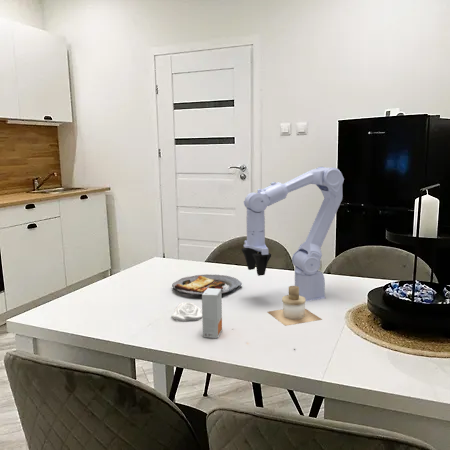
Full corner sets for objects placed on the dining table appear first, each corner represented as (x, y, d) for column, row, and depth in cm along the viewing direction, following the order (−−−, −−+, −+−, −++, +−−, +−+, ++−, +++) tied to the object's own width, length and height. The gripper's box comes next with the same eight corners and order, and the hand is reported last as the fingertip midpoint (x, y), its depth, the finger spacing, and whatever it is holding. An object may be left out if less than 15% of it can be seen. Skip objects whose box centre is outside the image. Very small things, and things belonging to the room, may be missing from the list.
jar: (298, 310, 138) (298, 296, 137) (308, 317, 132) (309, 302, 131) (279, 313, 136) (279, 299, 135) (289, 320, 130) (289, 305, 129)
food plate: (214, 303, 148) (214, 292, 147) (159, 293, 160) (159, 283, 159) (251, 285, 169) (251, 276, 168) (199, 278, 181) (199, 269, 180)
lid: (298, 296, 137) (298, 282, 137) (309, 303, 131) (309, 289, 130) (278, 299, 135) (278, 285, 135) (288, 306, 129) (288, 292, 128)
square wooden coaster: (301, 308, 142) (301, 306, 142) (322, 321, 130) (322, 319, 130) (266, 313, 138) (266, 311, 138) (285, 327, 126) (285, 325, 126)
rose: (185, 295, 143) (210, 300, 138) (185, 309, 144) (210, 314, 138) (164, 305, 135) (190, 310, 129) (164, 319, 135) (190, 325, 130)
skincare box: (218, 338, 120) (217, 295, 118) (202, 337, 121) (201, 294, 119) (222, 329, 126) (221, 288, 124) (207, 328, 127) (206, 287, 125)
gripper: (235, 228, 149) (236, 268, 151) (253, 235, 135) (253, 279, 137) (255, 226, 151) (255, 265, 153) (274, 233, 138) (274, 276, 140)
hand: (256, 272), depth 146 cm, fingers open, 7 cm apart
